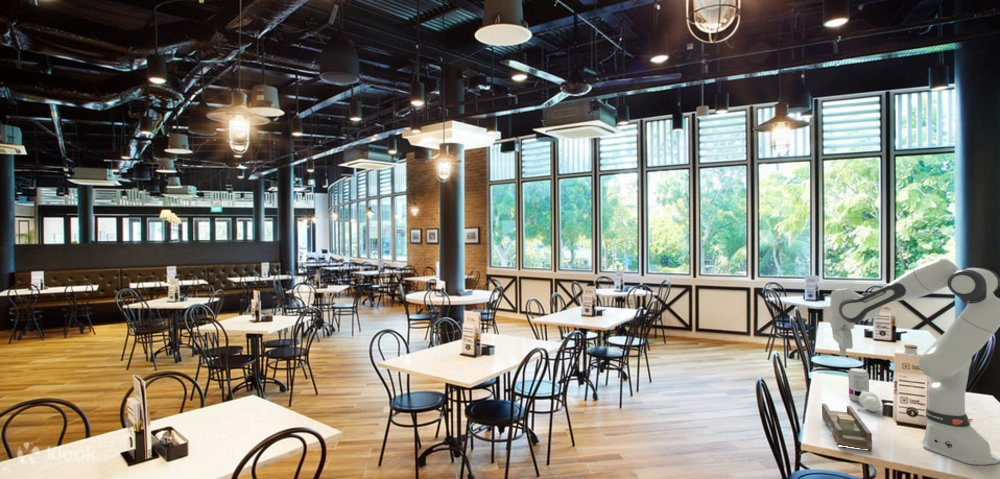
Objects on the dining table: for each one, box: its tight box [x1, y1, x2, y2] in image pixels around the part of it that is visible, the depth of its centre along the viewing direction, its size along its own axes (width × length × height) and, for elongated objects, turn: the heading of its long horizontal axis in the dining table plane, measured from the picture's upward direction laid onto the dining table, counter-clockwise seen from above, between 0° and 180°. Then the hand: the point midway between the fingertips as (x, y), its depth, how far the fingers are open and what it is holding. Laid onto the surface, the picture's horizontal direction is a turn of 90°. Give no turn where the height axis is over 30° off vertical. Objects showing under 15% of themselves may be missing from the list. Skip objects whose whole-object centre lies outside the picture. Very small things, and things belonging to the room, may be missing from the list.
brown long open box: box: [821, 403, 873, 451], centre depth 210 cm, size 32×11×7 cm, turn 157°
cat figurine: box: [857, 390, 883, 413], centre depth 236 cm, size 9×11×12 cm
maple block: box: [837, 414, 854, 430], centre depth 207 cm, size 5×5×4 cm
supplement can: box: [848, 367, 870, 403], centre depth 249 cm, size 8×8×15 cm
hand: (842, 354), depth 227 cm, fingers closed
